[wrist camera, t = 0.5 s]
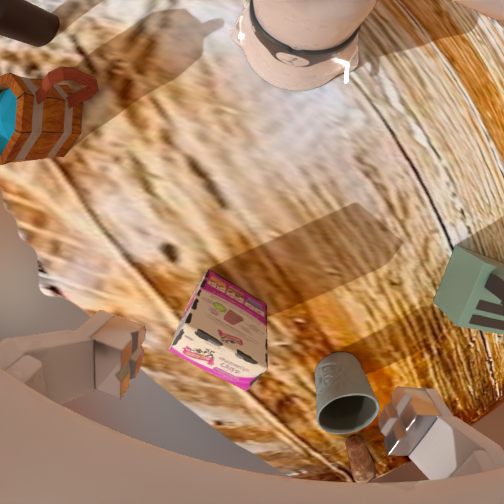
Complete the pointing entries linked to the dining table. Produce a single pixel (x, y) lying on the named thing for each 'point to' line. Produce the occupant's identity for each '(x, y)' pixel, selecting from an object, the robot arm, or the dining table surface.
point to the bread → (360, 460)
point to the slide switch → (496, 287)
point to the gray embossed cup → (343, 394)
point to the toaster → (471, 291)
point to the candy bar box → (224, 332)
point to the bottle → (27, 22)
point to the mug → (41, 114)
